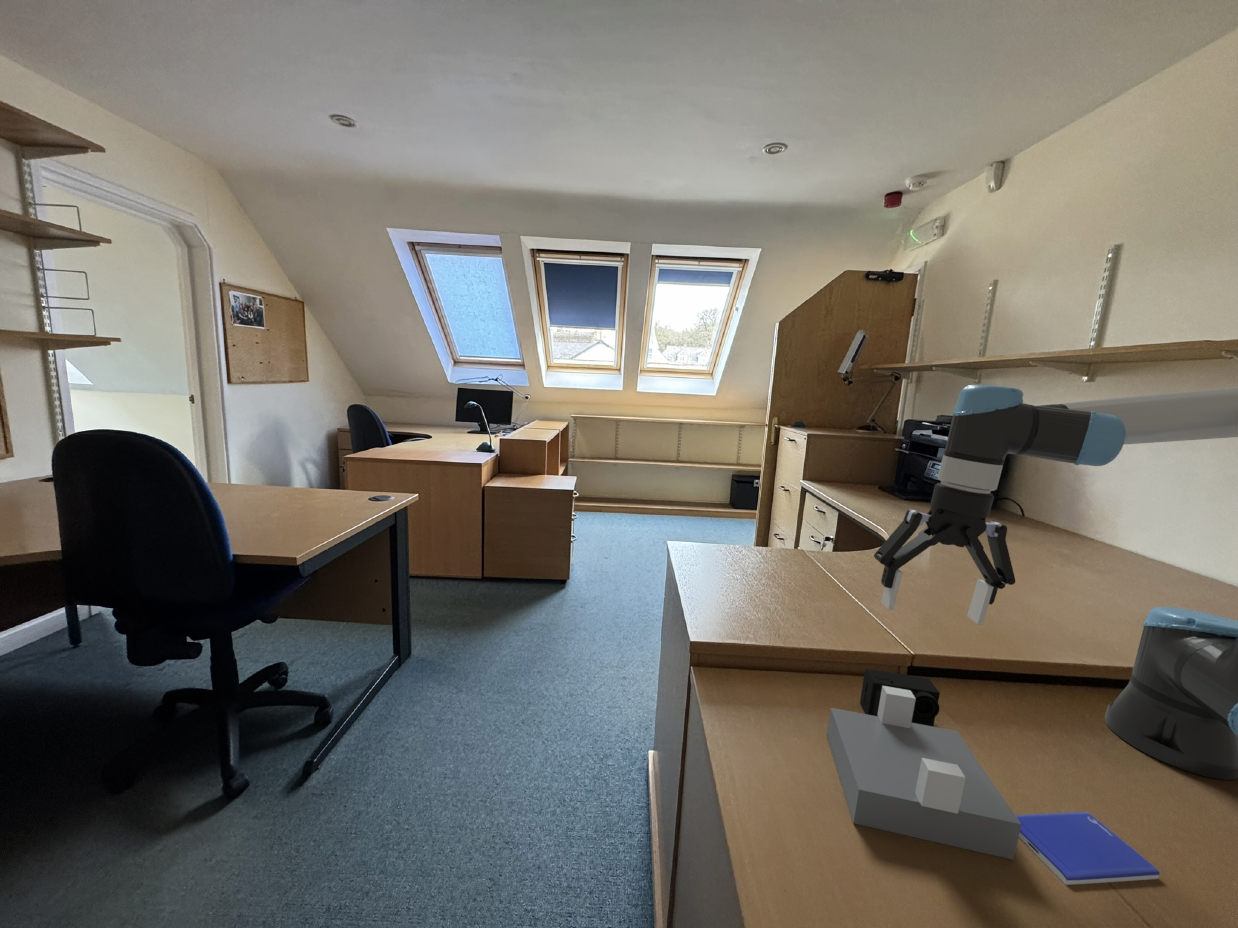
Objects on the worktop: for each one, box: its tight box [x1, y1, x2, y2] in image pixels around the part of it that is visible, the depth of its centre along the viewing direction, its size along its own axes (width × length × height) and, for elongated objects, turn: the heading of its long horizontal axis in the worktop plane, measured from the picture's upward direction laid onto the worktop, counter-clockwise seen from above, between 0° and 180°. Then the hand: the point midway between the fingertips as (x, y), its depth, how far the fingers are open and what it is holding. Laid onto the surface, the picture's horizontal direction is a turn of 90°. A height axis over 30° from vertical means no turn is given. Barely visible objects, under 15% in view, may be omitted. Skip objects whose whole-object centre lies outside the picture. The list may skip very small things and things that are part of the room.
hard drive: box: [1015, 811, 1161, 886], centre depth 59 cm, size 2×8×12 cm
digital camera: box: [859, 668, 941, 727], centre depth 81 cm, size 10×5×7 cm, turn 80°
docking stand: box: [826, 686, 1022, 860], centre depth 66 cm, size 18×17×10 cm
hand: (930, 613), depth 77 cm, fingers open, 13 cm apart
